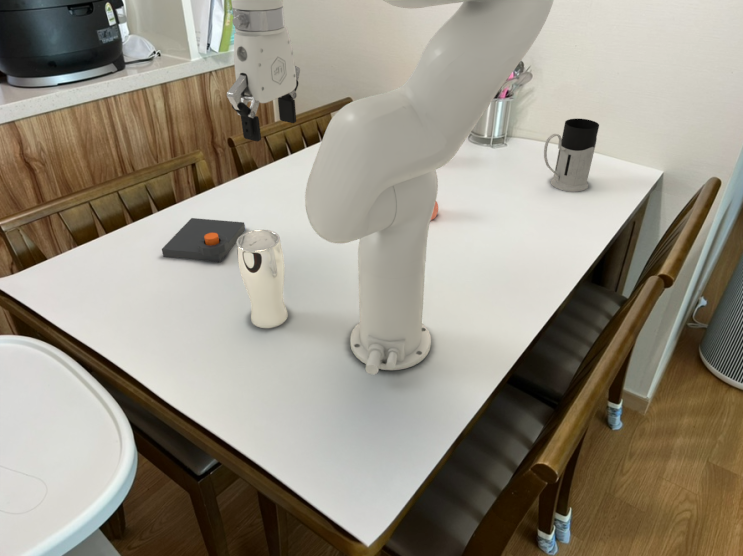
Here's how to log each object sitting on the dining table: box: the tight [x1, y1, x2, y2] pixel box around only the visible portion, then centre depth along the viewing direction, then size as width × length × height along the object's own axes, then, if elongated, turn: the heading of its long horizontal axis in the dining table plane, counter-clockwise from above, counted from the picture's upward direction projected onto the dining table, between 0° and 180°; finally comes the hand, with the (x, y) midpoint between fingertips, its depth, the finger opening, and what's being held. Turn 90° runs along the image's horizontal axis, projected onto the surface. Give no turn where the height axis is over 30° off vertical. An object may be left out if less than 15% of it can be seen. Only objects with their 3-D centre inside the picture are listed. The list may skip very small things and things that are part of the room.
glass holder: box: [543, 118, 600, 193], centre depth 128 cm, size 9×14×15 cm, turn 116°
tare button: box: [204, 233, 219, 246], centre depth 105 cm, size 3×3×2 cm
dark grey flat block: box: [161, 217, 246, 263], centre depth 110 cm, size 14×13×4 cm
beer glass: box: [235, 229, 289, 329], centre depth 87 cm, size 7×7×15 cm
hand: (271, 130), depth 92 cm, fingers open, 9 cm apart
